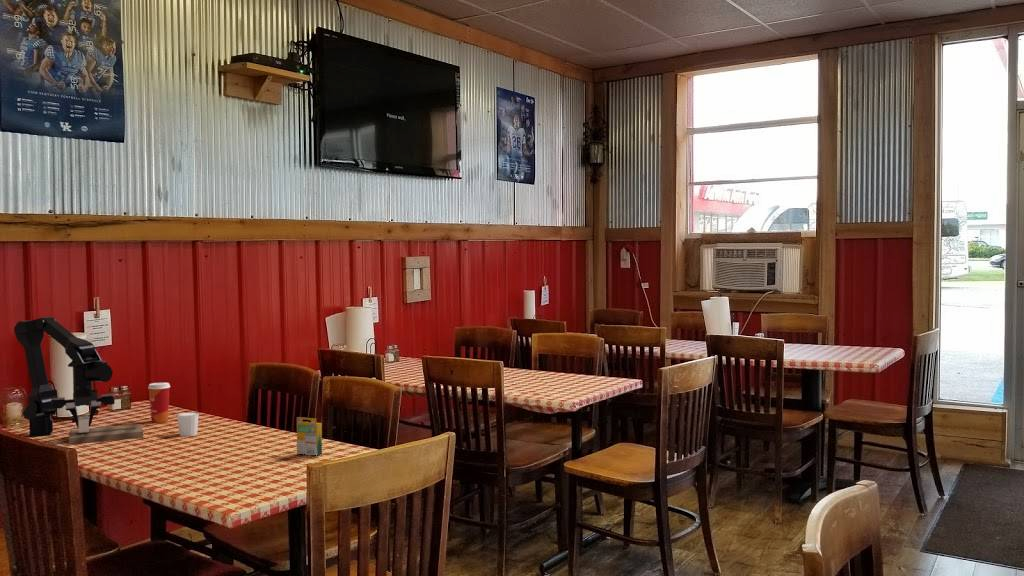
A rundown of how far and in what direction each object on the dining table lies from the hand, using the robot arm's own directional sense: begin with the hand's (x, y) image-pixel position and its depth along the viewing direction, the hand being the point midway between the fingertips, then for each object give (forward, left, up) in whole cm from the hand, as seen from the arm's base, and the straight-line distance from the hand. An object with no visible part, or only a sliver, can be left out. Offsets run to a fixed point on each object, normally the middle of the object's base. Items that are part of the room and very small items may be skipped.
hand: (83, 426), depth 273 cm
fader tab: (0, 0, -2) cm, 2 cm away
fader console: (+7, 0, -4) cm, 8 cm away
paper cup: (+25, +19, -4) cm, 31 cm away
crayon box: (+62, -57, -4) cm, 84 cm away
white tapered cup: (+32, -9, -4) cm, 33 cm away
